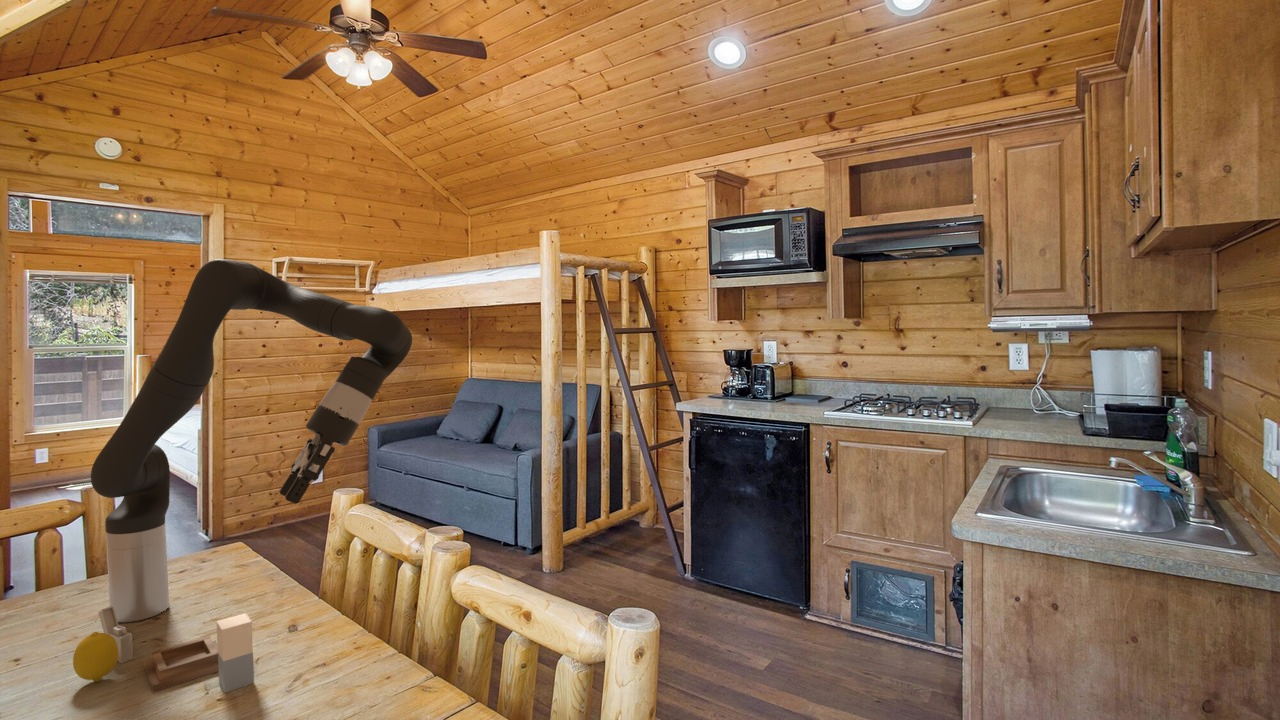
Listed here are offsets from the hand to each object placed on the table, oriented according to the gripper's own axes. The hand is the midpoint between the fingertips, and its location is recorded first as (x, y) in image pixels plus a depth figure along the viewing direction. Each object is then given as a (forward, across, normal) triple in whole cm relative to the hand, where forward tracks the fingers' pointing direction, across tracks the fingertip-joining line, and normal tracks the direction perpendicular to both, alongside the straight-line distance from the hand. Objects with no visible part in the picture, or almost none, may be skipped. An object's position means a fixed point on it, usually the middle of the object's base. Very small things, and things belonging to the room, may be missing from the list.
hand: (287, 498), depth 108 cm
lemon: (+37, -13, -8) cm, 40 cm away
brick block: (+28, +1, +8) cm, 29 cm away
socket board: (+30, -10, +2) cm, 32 cm away
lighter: (+35, -21, -7) cm, 41 cm away
